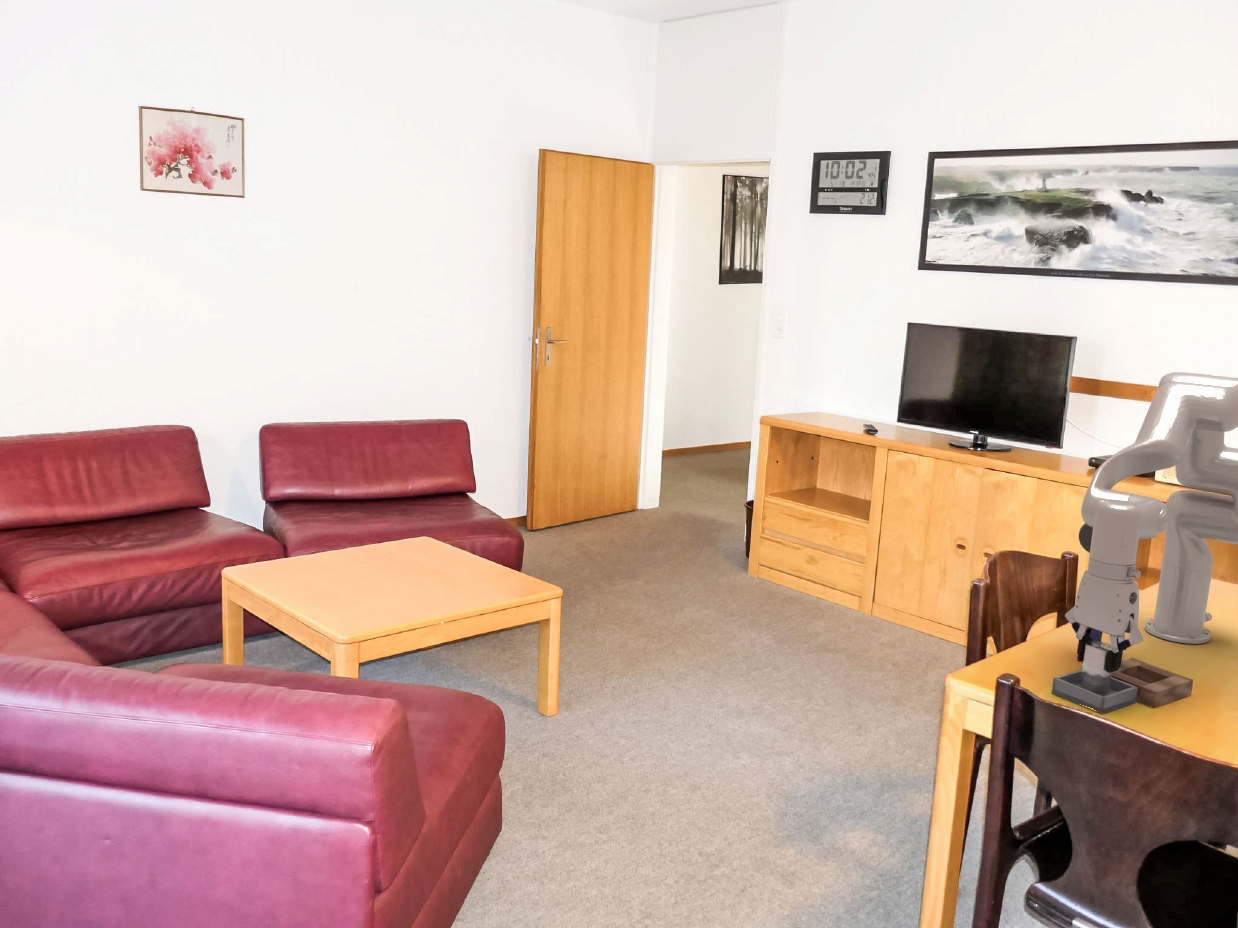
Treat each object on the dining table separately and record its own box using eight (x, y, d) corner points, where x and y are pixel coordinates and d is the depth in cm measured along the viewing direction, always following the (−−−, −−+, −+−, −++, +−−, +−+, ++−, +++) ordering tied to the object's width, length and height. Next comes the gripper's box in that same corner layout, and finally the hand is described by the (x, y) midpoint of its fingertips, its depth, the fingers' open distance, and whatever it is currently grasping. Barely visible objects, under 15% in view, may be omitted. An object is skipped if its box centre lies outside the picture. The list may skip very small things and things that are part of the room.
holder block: (1130, 672, 207) (1132, 657, 206) (1190, 694, 197) (1193, 679, 196) (1093, 683, 200) (1095, 668, 200) (1153, 707, 191) (1156, 692, 190)
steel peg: (1090, 679, 197) (1096, 639, 195) (1115, 689, 193) (1121, 648, 191) (1074, 685, 194) (1079, 643, 193) (1098, 695, 190) (1104, 652, 189)
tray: (1085, 682, 201) (1087, 667, 200) (1135, 702, 192) (1138, 687, 192) (1051, 693, 195) (1053, 677, 195) (1102, 714, 187) (1104, 698, 186)
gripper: (1168, 579, 184) (1154, 678, 188) (1080, 554, 198) (1068, 646, 202) (1143, 585, 180) (1129, 686, 184) (1055, 559, 194) (1044, 653, 198)
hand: (1097, 664), depth 193 cm, fingers closed on steel peg, 5 cm apart
